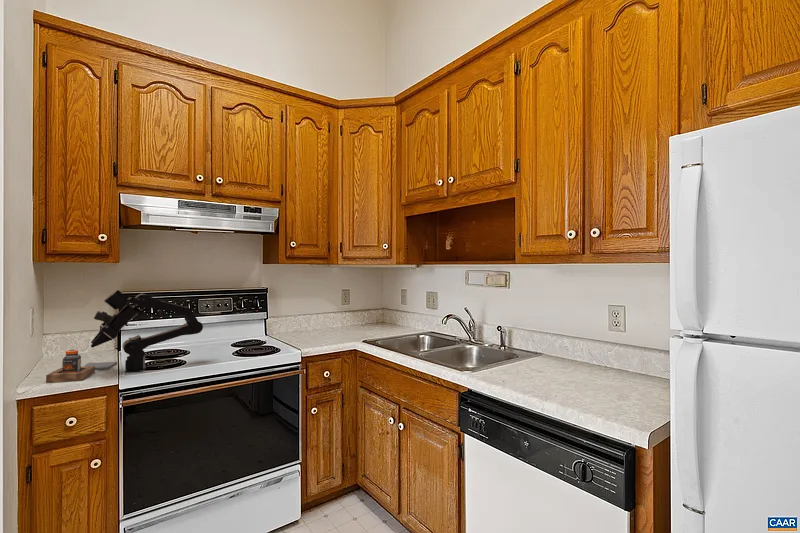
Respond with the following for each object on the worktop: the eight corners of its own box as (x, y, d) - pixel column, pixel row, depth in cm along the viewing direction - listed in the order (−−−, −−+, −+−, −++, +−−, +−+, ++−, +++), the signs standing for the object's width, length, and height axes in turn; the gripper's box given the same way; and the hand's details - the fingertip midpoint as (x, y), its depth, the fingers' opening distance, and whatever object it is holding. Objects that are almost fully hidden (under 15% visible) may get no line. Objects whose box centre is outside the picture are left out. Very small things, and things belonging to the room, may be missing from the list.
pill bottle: (58, 380, 164) (59, 351, 164) (66, 376, 169) (67, 348, 169) (76, 379, 165) (76, 351, 165) (83, 375, 171) (83, 348, 171)
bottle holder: (94, 373, 175) (94, 366, 175) (82, 380, 163) (82, 373, 163) (60, 375, 171) (60, 367, 171) (46, 382, 160) (46, 375, 160)
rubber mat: (117, 364, 191) (117, 361, 191) (108, 369, 180) (108, 367, 180) (89, 365, 187) (89, 363, 187) (78, 371, 177) (78, 368, 177)
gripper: (107, 302, 182) (75, 329, 175) (108, 306, 167) (73, 335, 160) (128, 319, 186) (98, 346, 180) (131, 324, 171) (97, 353, 165)
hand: (91, 345), depth 171 cm, fingers open, 9 cm apart
